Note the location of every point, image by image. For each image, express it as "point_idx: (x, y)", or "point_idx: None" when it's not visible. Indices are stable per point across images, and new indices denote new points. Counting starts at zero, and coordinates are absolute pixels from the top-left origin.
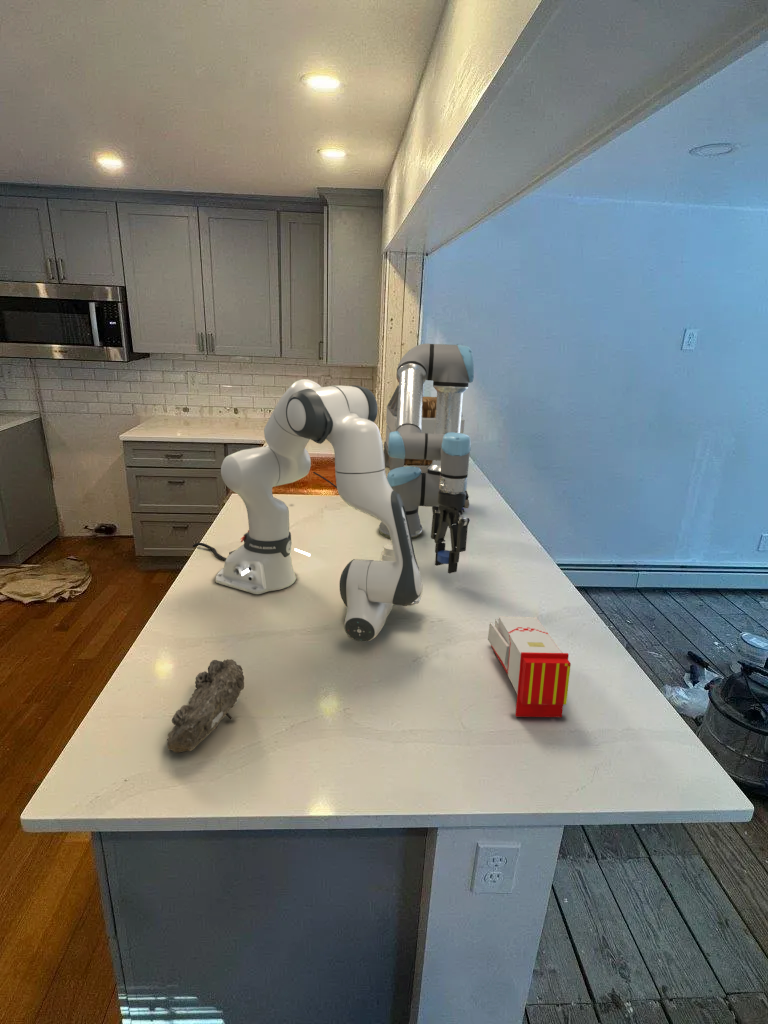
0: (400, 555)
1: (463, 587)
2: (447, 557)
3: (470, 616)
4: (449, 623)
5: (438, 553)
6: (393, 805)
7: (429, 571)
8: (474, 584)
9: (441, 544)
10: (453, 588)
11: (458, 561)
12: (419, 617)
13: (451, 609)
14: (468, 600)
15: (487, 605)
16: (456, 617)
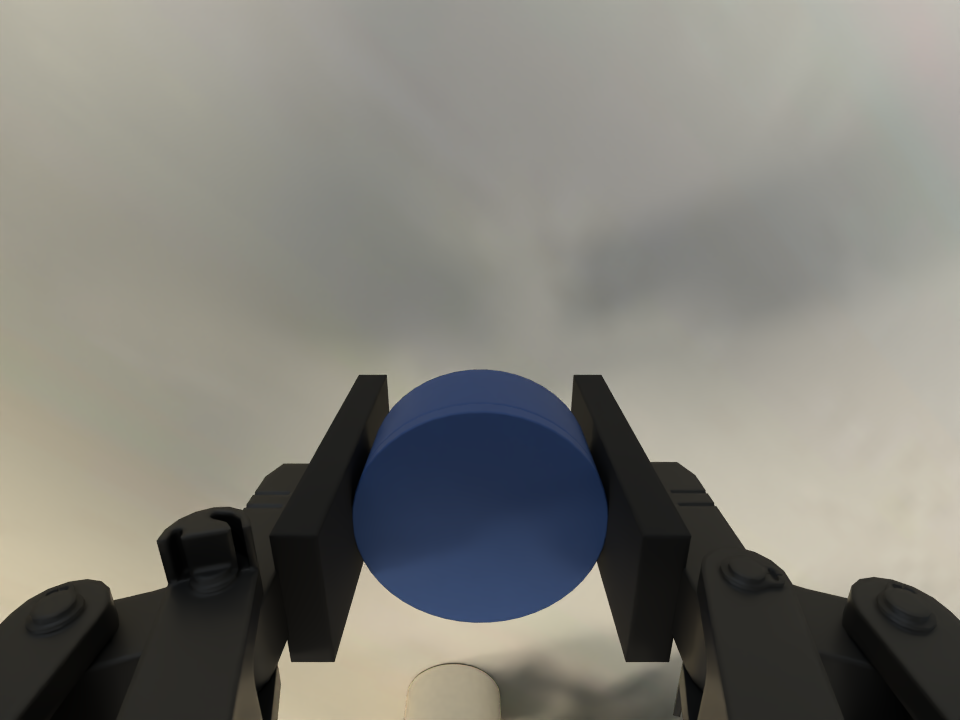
0: None
1: (586, 240)
2: (580, 582)
3: (890, 464)
4: (846, 594)
5: (422, 604)
6: None
7: (219, 304)
8: (599, 110)
9: (325, 603)
10: (555, 322)
11: (690, 475)
12: None
13: (755, 506)
14: (752, 345)
15: (895, 274)
16: (835, 534)
